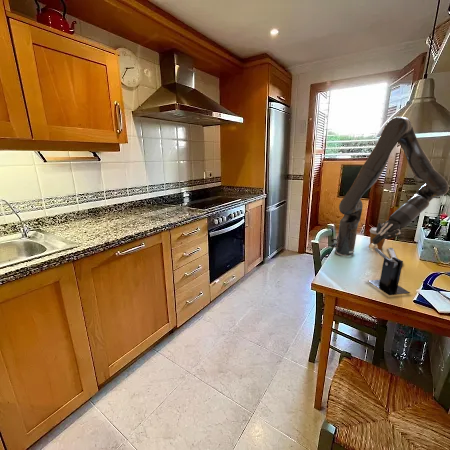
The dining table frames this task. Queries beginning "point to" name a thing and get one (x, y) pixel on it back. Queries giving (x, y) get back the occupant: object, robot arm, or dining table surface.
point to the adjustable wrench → (392, 253)
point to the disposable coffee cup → (373, 234)
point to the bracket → (390, 278)
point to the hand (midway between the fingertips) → (374, 242)
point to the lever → (375, 248)
